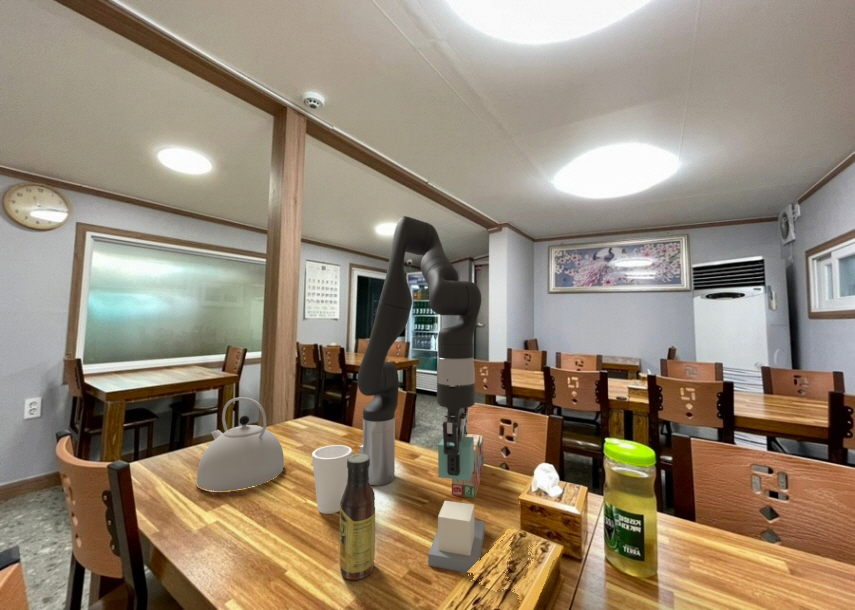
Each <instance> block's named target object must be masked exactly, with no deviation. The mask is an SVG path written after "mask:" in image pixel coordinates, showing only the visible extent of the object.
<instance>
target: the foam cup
mask: <svg viewBox="0 0 855 610" xmlns="http://www.w3.org/2000/svg"><path fill="white" fill-rule="evenodd" d="M352 455H353V450H352V448H351V447H350V446H348V445H344V444H343V445H342V444H333V445H332V444H331V445H326V446H322V447H319V448H316V449H315V450H314V451H312V453H311V467H312V468H313V477H314V486H315V495H316V496H315V497H316V506H317V511H318V513H321V514H324V515H327V514H330V515H331V514H335V513H338V512H340V502H341V499H342V496H343V494H344V491H345V488H346V485H347V479H348V468H347V458H348V457H350V456H352Z"/></svg>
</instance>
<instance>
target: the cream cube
mask: <svg viewBox="0 0 855 610" xmlns="http://www.w3.org/2000/svg"><path fill="white" fill-rule="evenodd" d="M474 520H475V504H472V503H463V502H458V501H451V500H450V501H448V500H444V502H443V504H442V506H441V508H440V511H439V513H438V515H437V531H438V550H440V551H445V552H451V553H457V554H462V555H468V556H470V555H471V550H472V545H473V541H474Z"/></svg>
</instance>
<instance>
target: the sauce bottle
mask: <svg viewBox="0 0 855 610" xmlns="http://www.w3.org/2000/svg"><path fill="white" fill-rule="evenodd" d="M369 465H370V458H369V456H368V455H366V454H360V453H355V454H352V456H350V457H348V458H347V468H348V479H347V485H346V488H345V491H344V494H343V496H342V499H341V502H340V511H339V552H338V553H339V556H338V557H339V561H338V564H339V570H340V573H341V575H342V578H344V579H346V580H352V581H356V580H357V581H358V580H362V579H364V578H367V576H369V575H370V574H371V573H372V571H373V569H374V565H375V557H376V555H375V549H376V548H375V547H376V545H375V544H376V533H375V532H376V506H375V505H376V504H375V500H376V496H375V491H374V489H373V487H372V485H370V484H369V482H368V481H369V477H368V475H369Z"/></svg>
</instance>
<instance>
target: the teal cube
mask: <svg viewBox="0 0 855 610" xmlns="http://www.w3.org/2000/svg"><path fill="white" fill-rule="evenodd" d="M437 447H438V449H437V450H438V451H437V452H438V453H437V459H438V461H437V462H438V466H437V467H438V468H437V469H438V470H437V471H438V472H437V473H438V478H443V479H449V480H452V479H458V480H467V481H470V480H471V476H472V473H473V470H474V437H463V441H462V442H461V443H460V473H459V475H458V476H454V475H449V474H448V472H447V454H444V442H443V437H442V438H441V440H440V441H439V443H438V445H437ZM450 447H453V448H454V443H450Z"/></svg>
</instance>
